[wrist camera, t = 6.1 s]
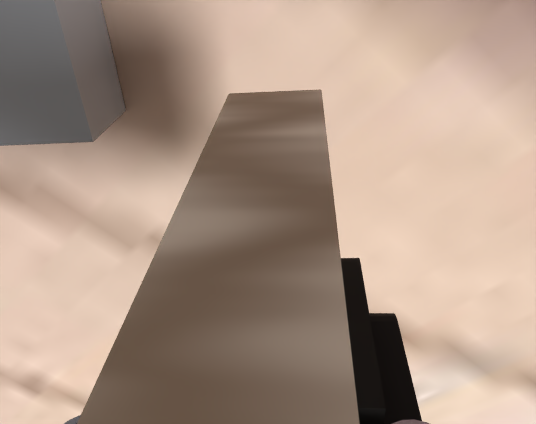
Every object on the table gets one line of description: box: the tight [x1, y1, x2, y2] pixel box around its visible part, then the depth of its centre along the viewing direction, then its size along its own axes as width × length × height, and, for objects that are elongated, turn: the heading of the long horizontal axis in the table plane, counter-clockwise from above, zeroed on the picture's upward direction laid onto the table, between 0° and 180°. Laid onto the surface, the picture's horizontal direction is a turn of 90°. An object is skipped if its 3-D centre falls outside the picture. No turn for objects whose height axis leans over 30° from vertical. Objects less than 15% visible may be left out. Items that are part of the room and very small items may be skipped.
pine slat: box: [77, 90, 360, 424], centre depth 10 cm, size 3×7×16 cm, turn 4°
